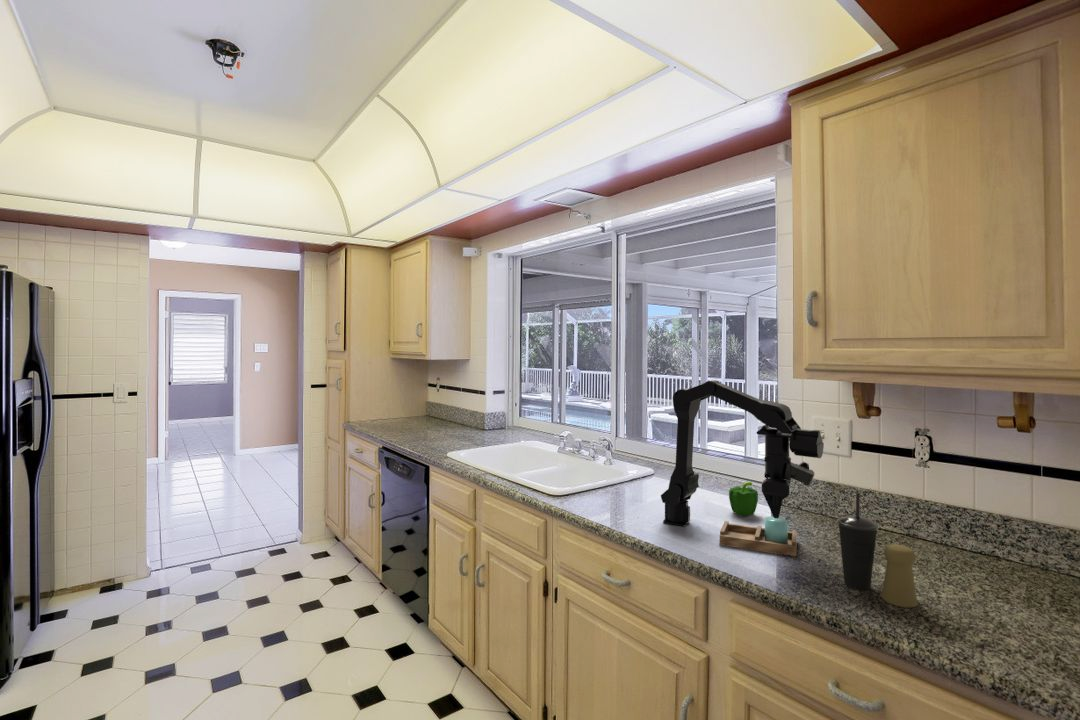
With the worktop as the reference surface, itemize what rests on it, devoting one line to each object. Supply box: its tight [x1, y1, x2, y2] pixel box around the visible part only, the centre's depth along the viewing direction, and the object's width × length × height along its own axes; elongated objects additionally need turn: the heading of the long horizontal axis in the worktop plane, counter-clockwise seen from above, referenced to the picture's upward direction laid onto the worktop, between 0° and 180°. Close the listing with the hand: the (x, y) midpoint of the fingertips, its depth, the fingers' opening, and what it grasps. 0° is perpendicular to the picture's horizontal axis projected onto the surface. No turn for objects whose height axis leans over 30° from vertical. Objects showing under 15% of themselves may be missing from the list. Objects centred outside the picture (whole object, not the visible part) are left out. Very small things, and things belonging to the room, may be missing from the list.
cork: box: [881, 543, 918, 608], centre depth 105 cm, size 6×6×11 cm
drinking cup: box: [837, 492, 880, 591], centre depth 112 cm, size 8×8×20 cm
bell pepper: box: [728, 481, 759, 517], centre depth 160 cm, size 8×8×10 cm
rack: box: [719, 520, 798, 557], centre depth 136 cm, size 18×11×3 cm, turn 63°
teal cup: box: [764, 515, 789, 544], centre depth 134 cm, size 6×6×6 cm
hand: (777, 512), depth 134 cm, fingers open, 9 cm apart
